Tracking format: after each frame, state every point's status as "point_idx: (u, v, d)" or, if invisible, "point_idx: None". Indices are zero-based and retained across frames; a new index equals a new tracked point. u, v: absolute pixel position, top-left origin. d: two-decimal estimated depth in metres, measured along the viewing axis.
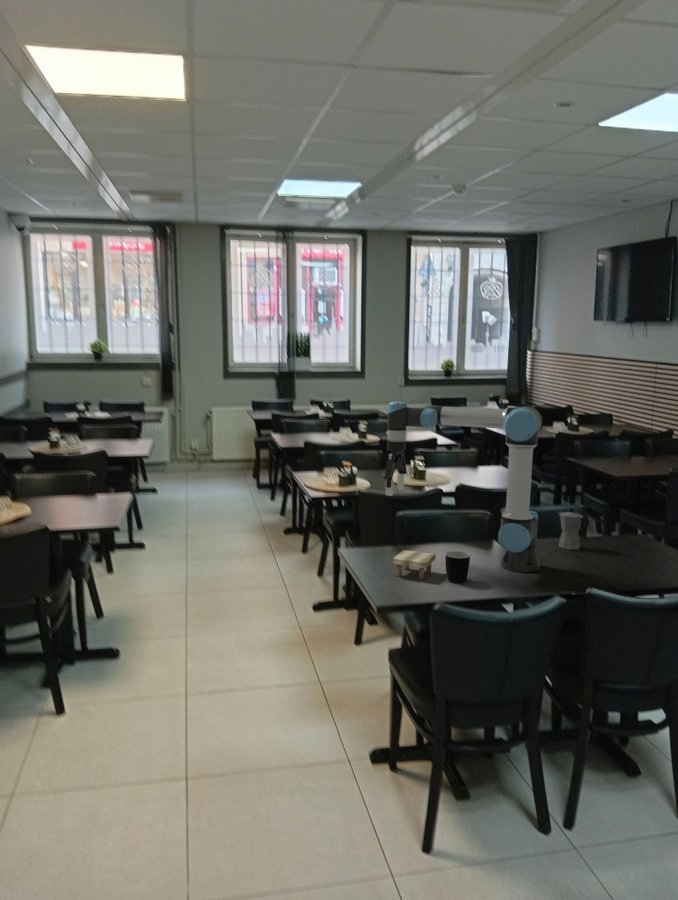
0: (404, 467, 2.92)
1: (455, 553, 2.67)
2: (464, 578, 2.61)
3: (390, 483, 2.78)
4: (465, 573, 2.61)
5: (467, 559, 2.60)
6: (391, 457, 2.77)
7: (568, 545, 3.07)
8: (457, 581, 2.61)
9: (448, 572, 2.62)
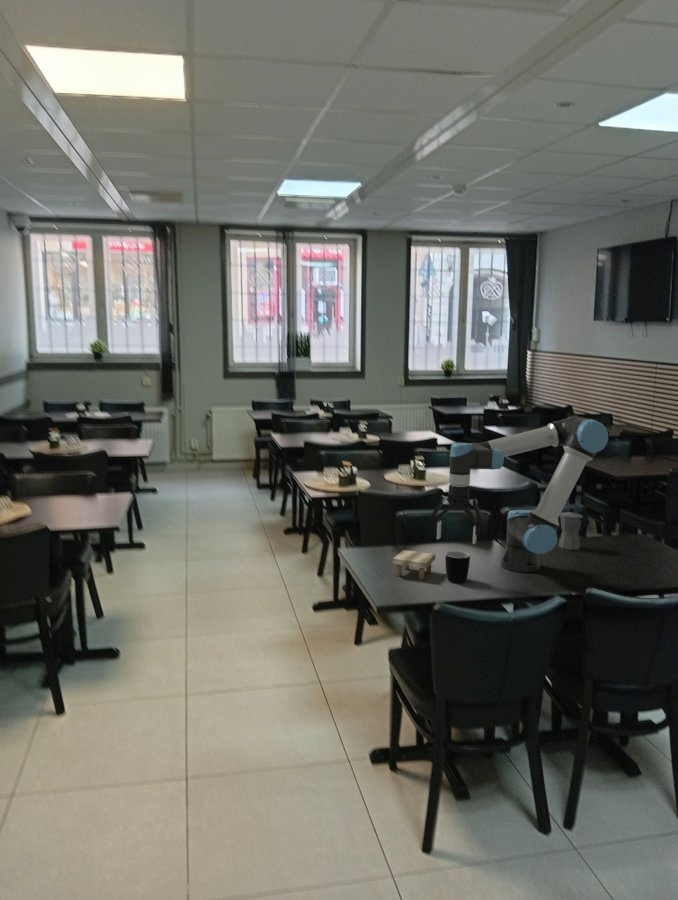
0: None
1: (455, 553, 2.67)
2: (464, 578, 2.61)
3: (436, 525, 2.65)
4: (465, 573, 2.61)
5: (467, 559, 2.60)
6: None
7: (568, 545, 3.07)
8: (457, 581, 2.61)
9: (448, 572, 2.62)
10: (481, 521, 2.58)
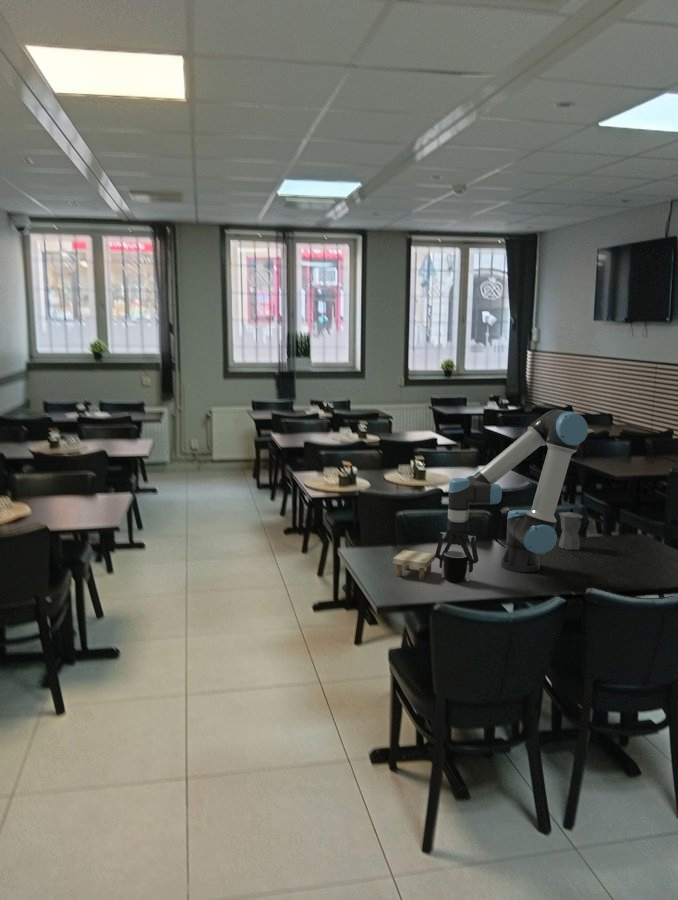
0: (473, 557, 2.61)
1: (453, 553, 2.67)
2: (462, 578, 2.62)
3: (441, 564, 2.67)
4: (463, 573, 2.61)
5: (465, 559, 2.60)
6: None
7: (568, 545, 3.07)
8: (455, 581, 2.61)
9: (446, 572, 2.62)
10: (475, 559, 2.61)
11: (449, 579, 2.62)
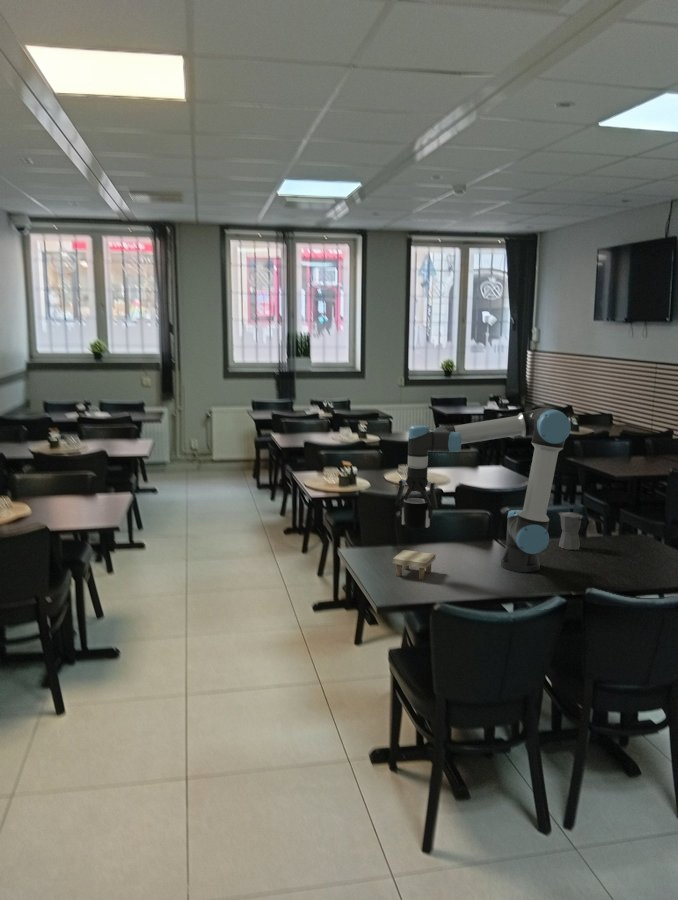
0: (432, 503, 2.64)
1: (414, 500, 2.70)
2: (421, 524, 2.64)
3: (401, 511, 2.69)
4: (422, 519, 2.64)
5: (424, 505, 2.63)
6: None
7: (568, 545, 3.07)
8: (414, 526, 2.64)
9: (406, 518, 2.65)
10: (434, 505, 2.63)
11: (408, 525, 2.65)
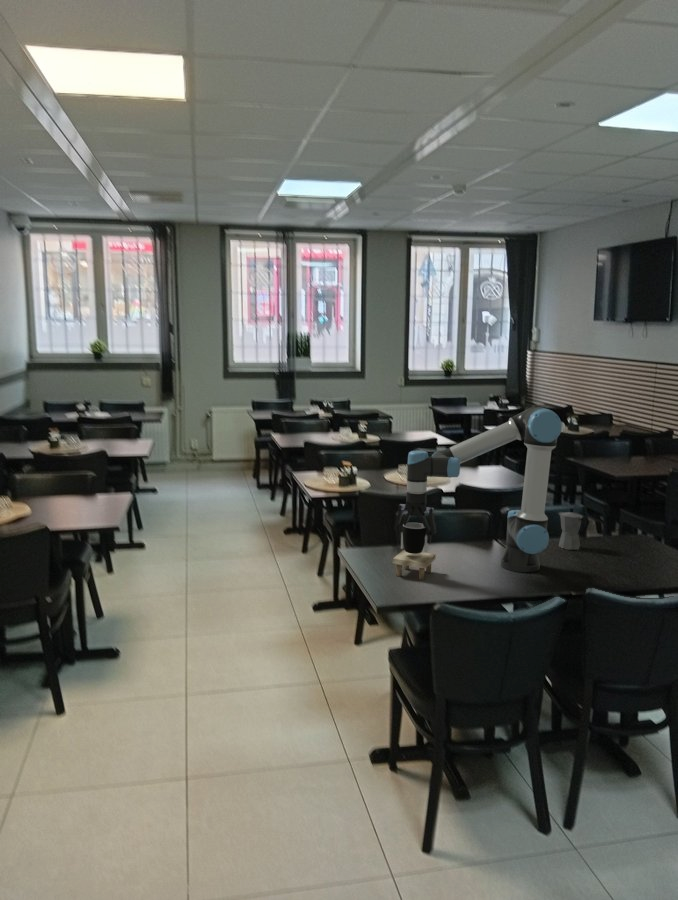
0: (431, 528, 2.65)
1: (413, 524, 2.71)
2: (420, 549, 2.66)
3: (400, 535, 2.71)
4: (421, 544, 2.65)
5: (423, 530, 2.64)
6: None
7: (568, 545, 3.07)
8: (413, 551, 2.65)
9: (404, 542, 2.66)
10: (433, 530, 2.65)
11: (407, 550, 2.66)
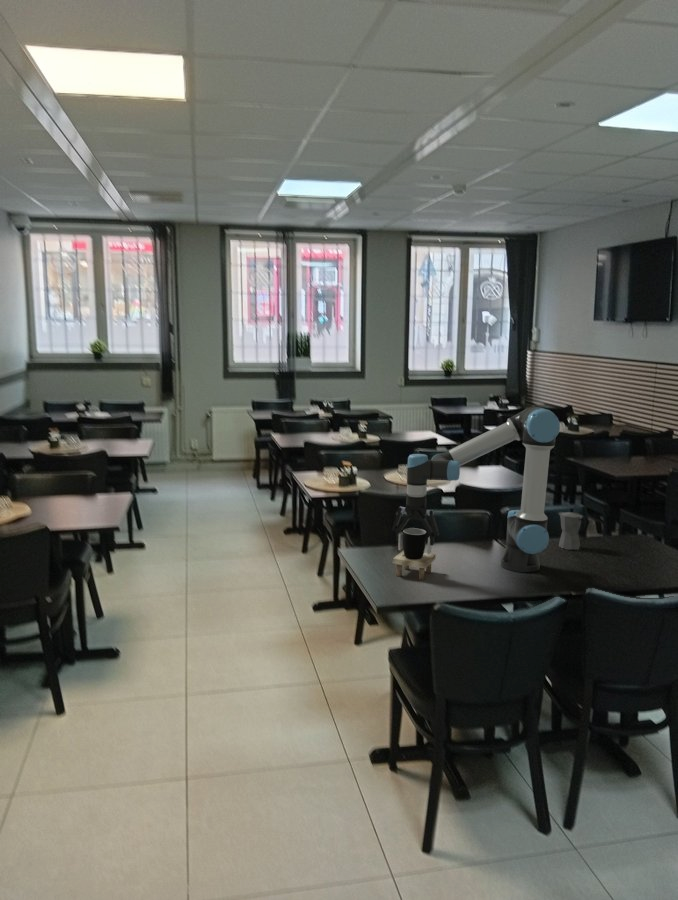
0: (433, 530, 2.65)
1: (413, 530, 2.72)
2: (420, 554, 2.66)
3: (397, 536, 2.71)
4: (421, 550, 2.65)
5: (423, 536, 2.64)
6: None
7: (568, 545, 3.07)
8: (413, 557, 2.66)
9: (405, 548, 2.67)
10: (435, 532, 2.64)
11: (407, 556, 2.66)
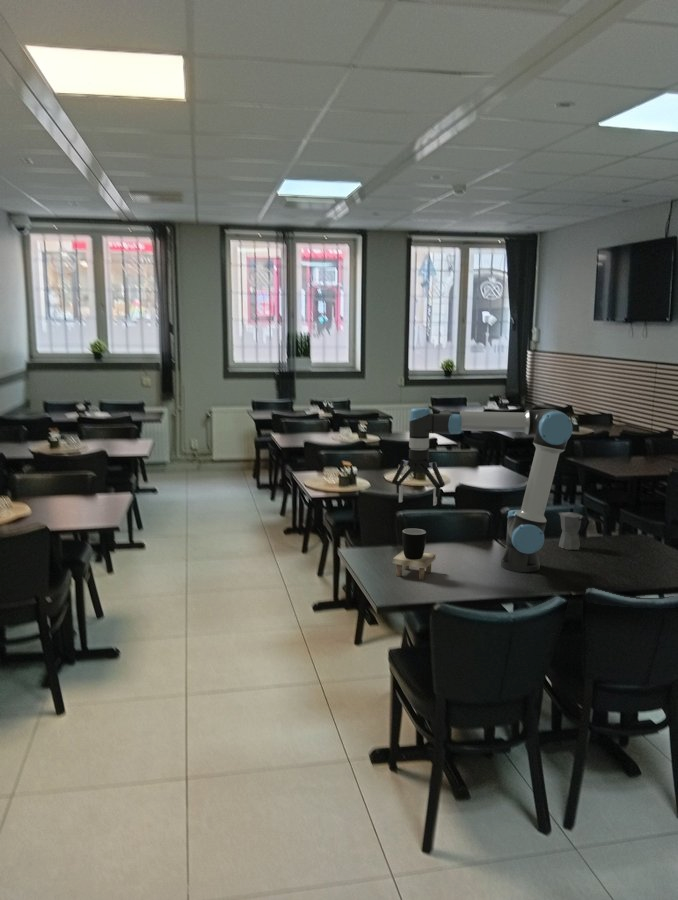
0: None
1: (412, 530, 2.72)
2: (420, 554, 2.66)
3: (398, 489, 2.73)
4: (421, 549, 2.65)
5: (423, 536, 2.65)
6: None
7: (568, 545, 3.07)
8: (413, 557, 2.66)
9: (404, 548, 2.67)
10: (441, 483, 2.66)
11: (407, 556, 2.66)
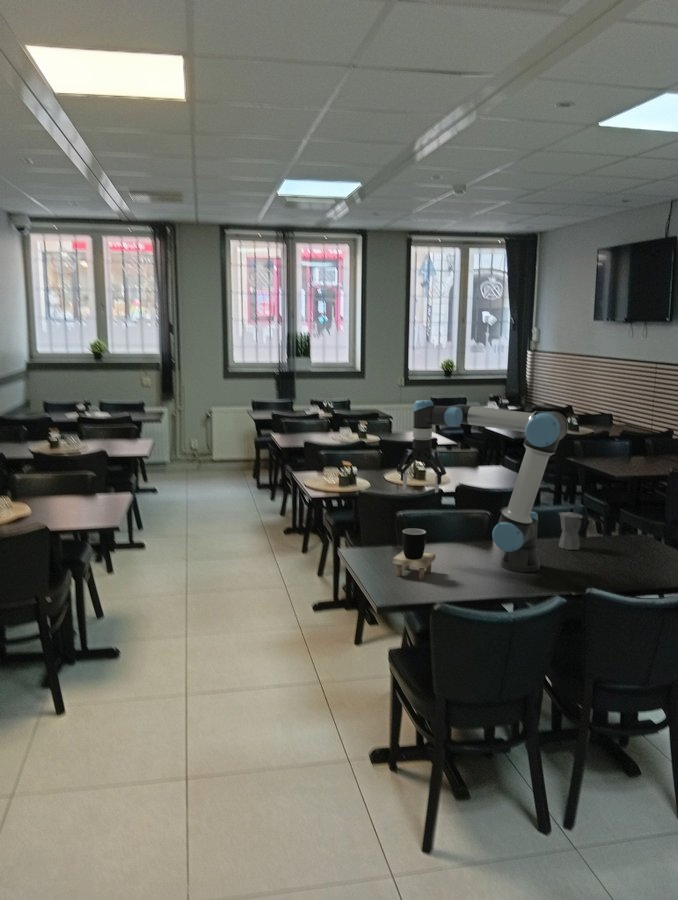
0: (440, 470, 2.82)
1: (412, 530, 2.72)
2: (420, 554, 2.66)
3: (402, 476, 2.89)
4: (421, 549, 2.65)
5: (423, 536, 2.65)
6: None
7: (568, 545, 3.07)
8: (413, 557, 2.66)
9: (404, 548, 2.67)
10: (442, 471, 2.81)
11: (407, 556, 2.66)
